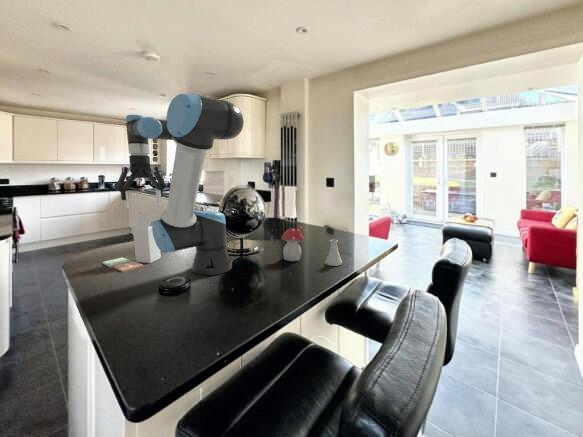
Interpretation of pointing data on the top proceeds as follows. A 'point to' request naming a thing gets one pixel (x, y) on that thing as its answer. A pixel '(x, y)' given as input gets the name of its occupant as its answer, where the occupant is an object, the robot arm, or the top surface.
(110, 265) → the pale green square tile
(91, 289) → the top surface
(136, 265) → the pad lying
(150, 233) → the milk carton
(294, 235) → the decorative ornament
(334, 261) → the flask
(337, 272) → the top surface
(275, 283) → the top surface
